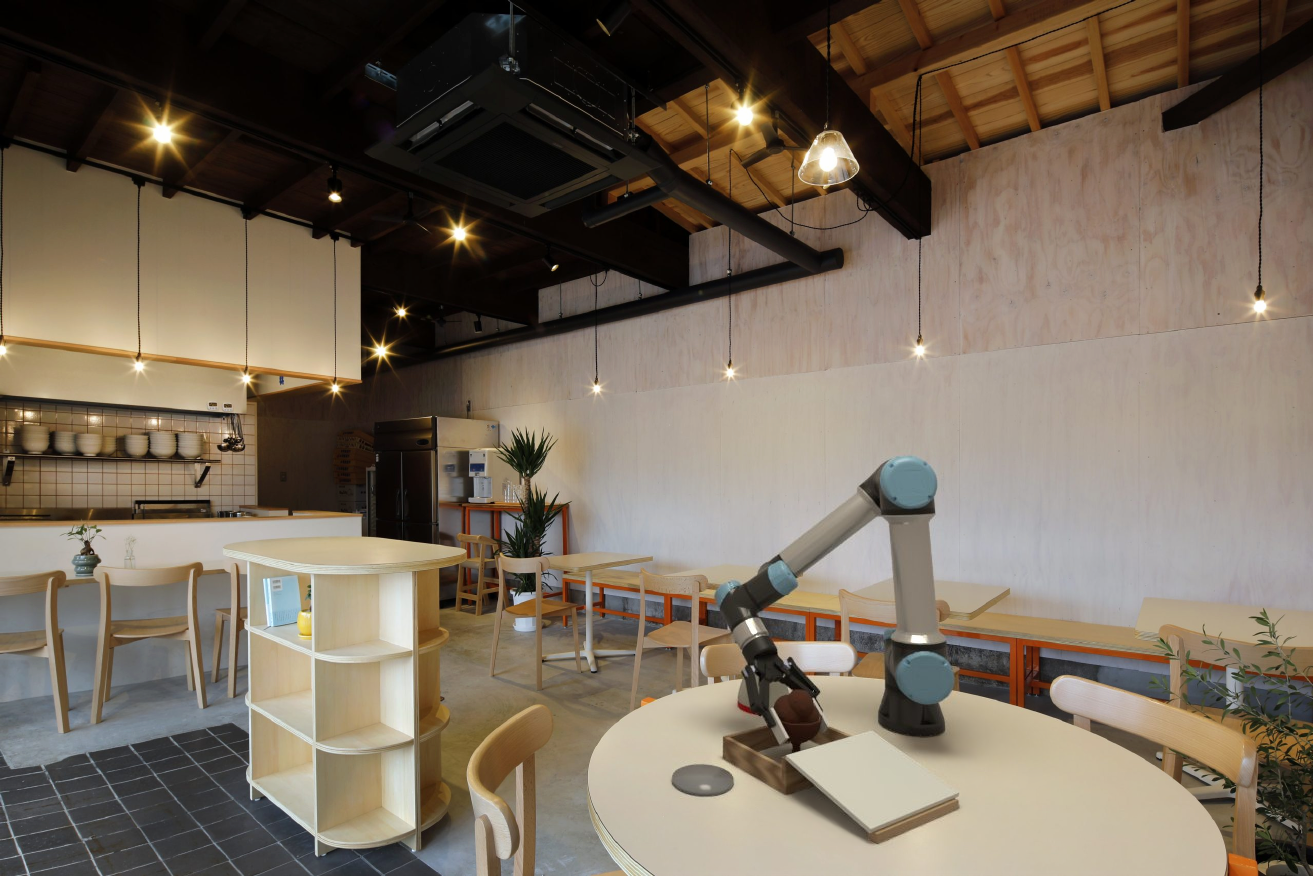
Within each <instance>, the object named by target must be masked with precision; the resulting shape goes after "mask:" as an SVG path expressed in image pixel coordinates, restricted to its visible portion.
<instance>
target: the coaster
mask: <svg viewBox="0 0 1313 876" xmlns="http://www.w3.org/2000/svg"><path fill="white" fill-rule="evenodd" d="M734 780H735V778H734V776H733V774H732V773H731V772H730V771H729V770H727V769H725V768H723V767H721V766H717V765H713V764H704V763H702V764H700V763H699V764H698V763H697V764H696V763H694V764H688V765H685V766H680V767H679V768H677V769H675V771H674V772H673V773H672V775H671V783H672V786H673V787H674V788H675V789H676V790H678V791H680V793H681V792H682V793H683V794H686V795H690V796H695V797H714V796H716V797H717V796H720V795H723V794H726V793H728V792H729V791H731V790H732V789H733V787H734V785H735V784H734V782H735V781H734Z"/></svg>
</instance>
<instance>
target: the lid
mask: <svg viewBox="0 0 1313 876" xmlns="http://www.w3.org/2000/svg"><path fill="white" fill-rule="evenodd" d="M788 754H789V755H788ZM788 754H786V755H785V756H786V760H787V761H788V762H789V763H790V764H791V765H792V766H794V767H795V768H796V769H797V770H798V771H799V772H800V773H802V774H803V775H804V776H805V777H806V778H807V779H808V780H809V781H811V782H812V783H813V784H814V786H815V787H816V788H818V789H819V790H820V792H822V793H823V794H824V795H825V796H826V797H828V798H829V799H830V800H831V801H832V802H833V803H835V805H837V806H838V807H839V808H840V809H841V810H843V812H845V813H846V814H847V815H848V816H849V817H850V818H851V819H852V820H854V822H856V823H857V824H858V825H860V826H861V828H863V829H864V830H865V831H866V832H867V833H866V835H867V836H866V837H867V838H866V839H868V840H870V841H871V842H873V843H875V844H877V845H879V844H881V843H883V842H885V841H888V840H890V839H892V838H894V837H897V836H898V835H901V834H904V833H906V832H909V831H910V830H913V829H916V828H918V827H919V826H922V825H924V824H926V823H929V822H931V821H933V820H935V819H938V818H940V817H943V816H945V815H947V814H949V813H952V812H954V811H956V810H958V809H959V807H960V806H959V805H960V804H959V801H960V800H959V799H958V797H959V796H960V791H959V790H957V789H956V788H954V787H953V786H951V785H950V784H948V782H947V783H946V781H944V780H942V779H941V778H940V777H938V776H936V775H935V774H934V773H933V772H931V771H930V770H928V769H927V768H926V767H924V766H923V765H921V764H920V763H918V762H917V761H916V760H914V759H913V758H911V756H909V755H907V754H906V753H904V752H903V751H901V750H900V749H899V748H897V747H896V746H894V744H891V742H888V741H887V740H886V739H884V738H883V737H881V736H880V735H879V734H877V732H875V731H873V730H868V731H865V732H862V733H858V734H855V735H852V736H851V737H847V738H844V739H841V740H837V741H834V742H830V743H827V744H823V745H817V746H814V747H811V748H806V749H804V750H800V751H799V752H796V753H793V754H790V753H788Z"/></svg>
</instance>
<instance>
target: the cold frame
mask: <svg viewBox="0 0 1313 876" xmlns="http://www.w3.org/2000/svg"><path fill="white" fill-rule="evenodd" d="M851 736H853V735H851V734H849V733H846V732H844V731H841V730H839V729H837V728H834V727H832V726H830V727H829V728H828V729H827V730H826V731H825V732H824V733H821V732H820V730H819V732H818V734H817V735H816V736H815V737H814V738H813V739H811V740H809V741H810V742H811V743H815V744H817V745H818V746H820V745H823V744H827V743H830V742H834V741H837V740H841V739H844V738H847V737H851ZM789 743H790V742H789V741H787V740H786V741H785V742H784V743H783V744H782V745H785V744H789ZM778 746H780V745H779V743H778V741H777V739H776V737H775V735H774V733H773V731H772V729H771V728H769V727H768V726H767V725H763V726H759V727H755V728H752V729H747V730H744V731H740V732H736V733H732V734H731V733H730V734H728V735H724V736H722V759H723V760H725V761H726V762H729V763H730V764H732V765H734V767H736V768H739V769H740V770H742V771H744V773H745V772H746V773H747V774H749V775H750V776H752V777H754V778H756V779H757V780H760V782H763V783H764V784H766V785H768V786H770V787H771V788H773V789H775V790H776V791H778V792H780V794H781V793H782V794H784V795H785V796H788V795H790V794H792V793H796V792H798V791H802V790H805V789H808V788H811V787H814V786H815V785H814V784H813V783H812V782H811V781H809V780H808V779H807V778H806V777H805V776H804V775H803V774H802V773H800V772H799V771H798V770H797V769H796V768H795V767H794V766H792V765H791V764H790V763H789V762H788V761H787V760H786V755H784V756H782V757H781V763H779V762H777V761H776V760H773V759H771V758H770V757H768V756H766V755H764V754H762V753H760V751H764V750H767V749H771V748H774V747H778Z"/></svg>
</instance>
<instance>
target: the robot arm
mask: <svg viewBox="0 0 1313 876" xmlns="http://www.w3.org/2000/svg"><path fill="white" fill-rule="evenodd" d="M937 491H938V478H937V474H936V472H935V470H934V469H933V467H932V466H931V465H930V464H929V463H928V462H926V461H925V460H923V459H922V458H919V457H917V456H912V455H901V456H895V457H893V458H891V459H890V458H889V459H887V460H886V461H884V462H883V463H882V464H880V465H879V466H878V467H877V468H876V469H875V470H874V472H873V473H872V474H871V475H870V476H868V477H867V478H866V479H865V480H864V481H863V482H862V483H861V484H859V485H858V486H857V488H856V493H855V494H853V495H852V496H851V497H849V498H848V499H847V500H845V501H844V502H842V503H841V505H839V506H837V508H835V509H834V510H832V511H831V512H830V513H828V514H827V515H826V516H825V517H824V518H823V519H821V520H820V521H818V522H817V523H815V524H814V525H813V526H812V527H811V528H810V529H807V531H805V532H804V533H803V534H802V535H801V536H799V537H798V538H797V539H795V540H794V541H793V542H792V543H790V544H789V545H788V546H786V547H785V548H784V549H783V550H781V551H780V552H779V553H778V554H776V555H775V556H774V557H772V558H771V559H770V560H768V561H766V562H764V563H763V564H762V565H761V566H760V567H759V569H758V570H757V574H756V575H755V576H753V577H751V578H750V579H749V580H748V581H746V582H744V583H741V582H740V581H738V580H729V581H728V582H724V583H723V584H721V585H719V587H717V588H716V590H715V592H714V601H715V603H716V606H717V607H718V611H719V613H720V614H721V616H722V618H723V620H724V621H725V623H726V625H727V627H728V629H729V630H730V632H731V635H732V637H733V638H734V641H735V642H736V644H737V646H738V648H739V650H740V651H741V655H742V656H743V658H744V660H745V662H746V663H747V664H746V665H745V666H744V668H742V670H741V671H740V673H741V676H743V677H744V679H745V683H746V688H747V694H748V699H749V704H750V710H751V712H752V713H756V712H757V715H756V716H758V717H762V718H763V720H764V722H765V724H766V726H768V727H769V728H771V729H772V731H773V733H774V735H775V737H776V739H777V741H778V743H779V746H782V745H784V744H783V743H784V742H785V741H786V740H787V739H788V738H789V737H788V735H787V733H786V731H785V729H784V727H783V725H782V723H781V721H780V719H779V718H778V716H777V714H776V712H775V710H774V708H770V709H769V687H770V683H772V682H780V683H781V684H785V685H786V686H787V687H788V689H789V690H791V691H793V690H804V691H807V692H808V693H809V695H810V696H811V697H812V699H813V702H814V706H815V707H816V708H817V709H818V711H819V714H820V715H822V722H821V726H820V729H819V730H820V732H821V733H824V732H825V731H826V730H827V729H828V728H829V727H831V725H830V723H829V720H828V719H827V718H826V716H825V714H824V709H823V708H822V706H821V705H820V703H819V701H818V699H817V697H818V696H819V695H820V694H821V690H820V689H819V687H817V685H815V684H814V682H813V681H812V679H810V678H809V677H808V676H807V675H806V673H805V672H803V670H802V669H801V668H800V667H799V666H798V665H797V664H796V662H795V660H794V658H793V657H792V656H789V657H787V658H786V659H782V658H781V657H780V656H779V654H778V653H779V652H778V647H777V645H776V644H775V642H774V640H773V639H772V636H770V633H769V631H768V630H767V628H766V626H765V624H764V622H763V621H762V619H761V617H760V616H759V614H760V613H762V611H764V610H765V609H766V608H768V607H770V606H771V605H773V604H774V603H776V602H778V601H779V600H782V598H784V597H786V596H788V595H790V594H791V592H793V591H794V590H796V589H797V588H798V587H799V582H798V578H799V577H800V576H801V575H803V574H805V572H806V571H808V570H809V569H810V568H811V567H813V566H814V565H815V564H817V563H818V562H820V561H821V560H822V559H824V558H825V557H826V556H827V555H830V553H832V552H833V551H834V550H835V549H837V548H838V547H839V546H840V545H842V544H844V543H845V542H846V541H847V540H849V539H850V538H851V537H852V536H853V535H855V534H857V533H858V532H859V531H860V530H861V529H863V528H864V527H866V526H867V525H868V524H869V523H871V522H872V521H874V520H875V519H876V518H878V517H879V518H880V517H881V518H882V519H884V521H886V522H887V523H888V530H889V531H888V532H889V543H890V554H891V568H892V579H893V591H894V594H893V595H894V606H895V617H896V619H895V620H896V627H887V628H885V630H884V632H883V640H882V641H883V649H884V653H883V654H884V656H883V657H884V660H883V661H884V692H883V695H882V698H881V702H880V704H879V708H878V710H877V722H878V723H879V725H880V726H881V727H882V728H884V729H886V730H888V731H891V732H893V733H897V734H901V735H905V736H911V737H926V738H927V737H935V736H940V735H942V734H944V732H945V731H946V720H945V717H944V714H943V711H942V708H941V704H940V702H942V701H944V700H945V699H947V698H948V697H949V696H950V694H951V693H952V691H953V689H954V687H955V673H954V671H953V667H952V664H951V663H950V662H949V654H948V643H947V637H946V636H945V634H943V633H942V632H941V631H940V630H939V626H938V623H939V622H938V612H937V604H936V603H937V600H936V589H935V578H934V567H933V555H932V544H931V542H932V541H931V531H930V529H931V528H930V521H931V520H932V519H933V518H934V517H935V515H936V503H935V502H936V501H935V497H936V493H937ZM755 674H756V675H757V676H758V677H759V681H758V686H759V692H758V687H757V682H756V677H755Z"/></svg>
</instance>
